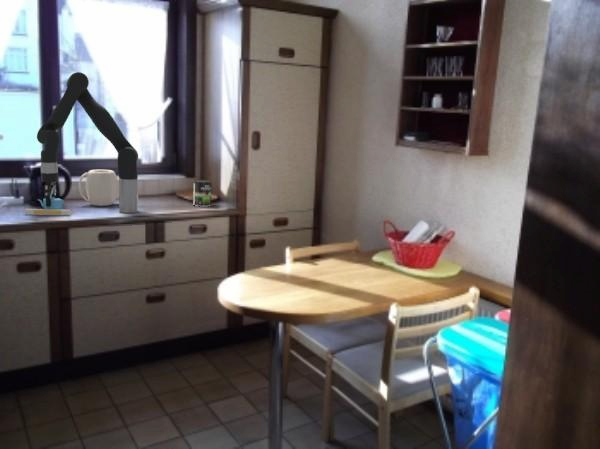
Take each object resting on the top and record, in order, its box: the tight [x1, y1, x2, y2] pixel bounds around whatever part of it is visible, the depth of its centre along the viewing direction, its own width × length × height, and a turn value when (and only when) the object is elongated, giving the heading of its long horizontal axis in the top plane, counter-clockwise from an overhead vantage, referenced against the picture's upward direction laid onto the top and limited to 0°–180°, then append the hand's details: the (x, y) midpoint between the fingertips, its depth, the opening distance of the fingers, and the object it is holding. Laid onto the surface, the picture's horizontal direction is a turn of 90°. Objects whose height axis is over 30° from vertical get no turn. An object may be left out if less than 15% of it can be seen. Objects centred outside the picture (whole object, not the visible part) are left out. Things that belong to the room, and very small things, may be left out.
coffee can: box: [192, 179, 213, 208], centre depth 322 cm, size 10×10×14 cm
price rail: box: [24, 208, 71, 216], centre depth 269 cm, size 20×2×2 cm, turn 100°
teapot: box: [38, 197, 65, 210], centre depth 274 cm, size 12×6×8 cm, turn 125°
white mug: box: [77, 169, 119, 207], centre depth 308 cm, size 16×27×19 cm, turn 126°
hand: (50, 205), depth 274 cm, fingers open, 8 cm apart
